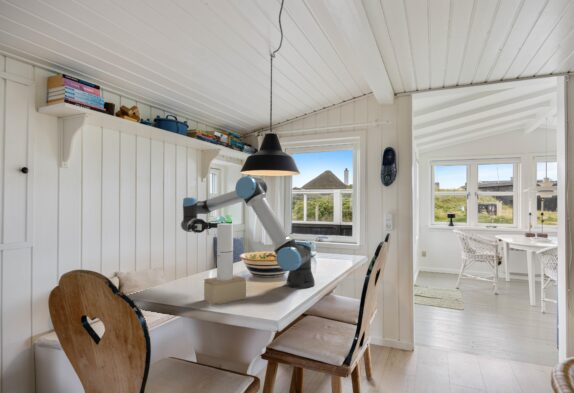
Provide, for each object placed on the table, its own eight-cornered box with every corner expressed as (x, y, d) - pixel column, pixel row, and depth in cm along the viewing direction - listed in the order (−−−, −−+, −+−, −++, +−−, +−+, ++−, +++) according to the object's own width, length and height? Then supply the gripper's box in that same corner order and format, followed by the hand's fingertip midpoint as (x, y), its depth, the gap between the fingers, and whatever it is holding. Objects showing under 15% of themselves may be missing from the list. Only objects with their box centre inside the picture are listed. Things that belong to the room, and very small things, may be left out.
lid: (204, 281, 148) (204, 278, 148) (234, 276, 158) (234, 274, 158) (213, 285, 140) (213, 283, 140) (245, 280, 150) (245, 278, 150)
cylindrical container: (228, 281, 145) (229, 224, 145) (214, 280, 147) (214, 224, 147) (235, 277, 152) (235, 223, 152) (221, 276, 153) (221, 223, 154)
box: (204, 299, 148) (204, 282, 148) (235, 293, 157) (235, 277, 158) (213, 304, 140) (213, 286, 140) (246, 298, 149) (246, 280, 150)
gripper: (218, 231, 184) (236, 232, 167) (174, 234, 169) (189, 235, 152) (218, 217, 185) (236, 217, 168) (173, 219, 169) (189, 219, 152)
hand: (214, 226), depth 160 cm, fingers open, 13 cm apart
